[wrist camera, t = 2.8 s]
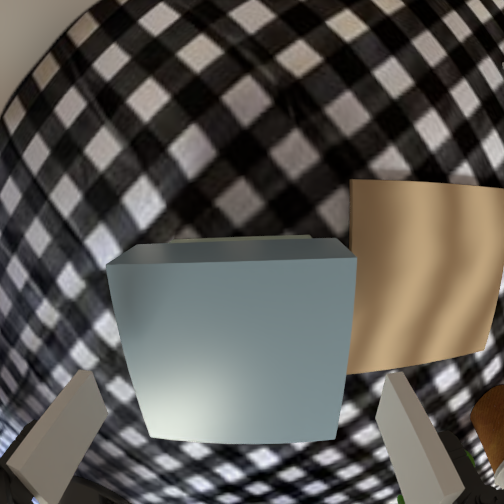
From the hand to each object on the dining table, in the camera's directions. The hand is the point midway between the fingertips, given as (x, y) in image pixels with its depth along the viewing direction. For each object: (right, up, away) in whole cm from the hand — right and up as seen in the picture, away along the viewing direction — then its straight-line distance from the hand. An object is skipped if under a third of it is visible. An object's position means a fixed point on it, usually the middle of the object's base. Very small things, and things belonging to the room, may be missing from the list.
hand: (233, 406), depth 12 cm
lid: (0, +2, +7) cm, 7 cm away
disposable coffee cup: (+31, -13, +15) cm, 36 cm away
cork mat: (+16, +4, +11) cm, 20 cm away
